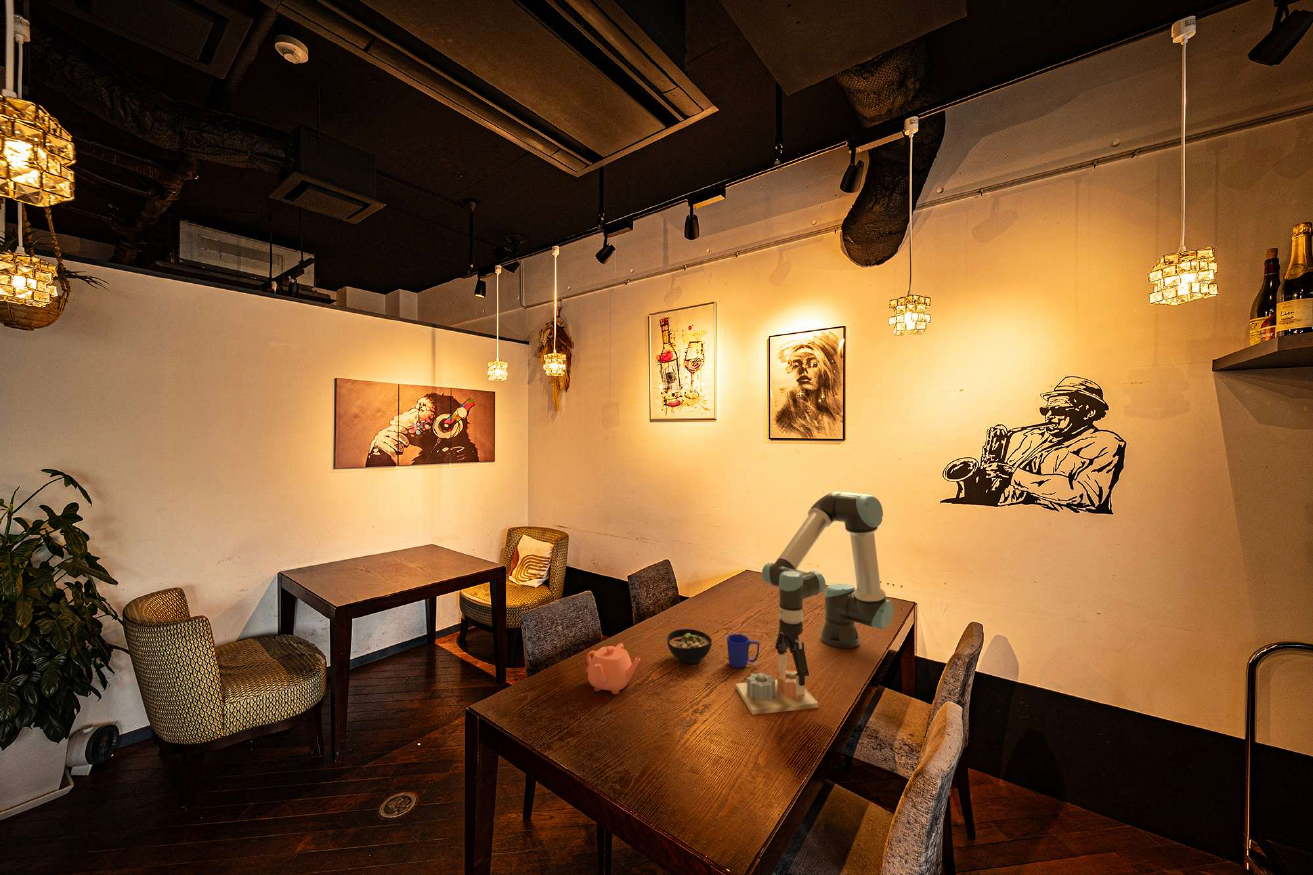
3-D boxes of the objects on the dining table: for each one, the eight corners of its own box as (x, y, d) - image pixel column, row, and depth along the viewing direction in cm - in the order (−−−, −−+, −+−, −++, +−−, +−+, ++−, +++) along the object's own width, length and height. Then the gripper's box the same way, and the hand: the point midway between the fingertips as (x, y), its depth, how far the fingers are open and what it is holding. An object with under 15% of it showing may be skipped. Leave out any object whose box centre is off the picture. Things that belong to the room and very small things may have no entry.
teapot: (642, 690, 166) (641, 651, 166) (596, 704, 157) (595, 663, 157) (621, 670, 180) (621, 634, 180) (578, 682, 171) (578, 644, 171)
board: (795, 681, 171) (795, 662, 170) (818, 707, 155) (818, 685, 155) (735, 687, 167) (735, 667, 167) (752, 714, 151) (752, 692, 151)
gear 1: (761, 684, 166) (761, 669, 166) (781, 696, 159) (781, 681, 159) (741, 692, 161) (741, 677, 161) (760, 705, 154) (760, 689, 154)
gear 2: (797, 683, 167) (797, 668, 167) (810, 697, 158) (810, 681, 158) (772, 685, 165) (772, 670, 165) (783, 699, 157) (783, 684, 157)
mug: (759, 672, 178) (759, 644, 178) (726, 669, 180) (726, 642, 180) (759, 661, 186) (759, 635, 186) (727, 658, 188) (727, 633, 188)
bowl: (681, 676, 175) (681, 648, 175) (659, 656, 190) (659, 631, 190) (720, 665, 183) (720, 638, 183) (696, 647, 198) (696, 623, 198)
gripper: (765, 606, 173) (765, 666, 173) (797, 636, 148) (797, 705, 149) (785, 605, 174) (785, 664, 175) (820, 634, 150) (820, 702, 150)
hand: (791, 683), depth 162 cm, fingers open, 13 cm apart
